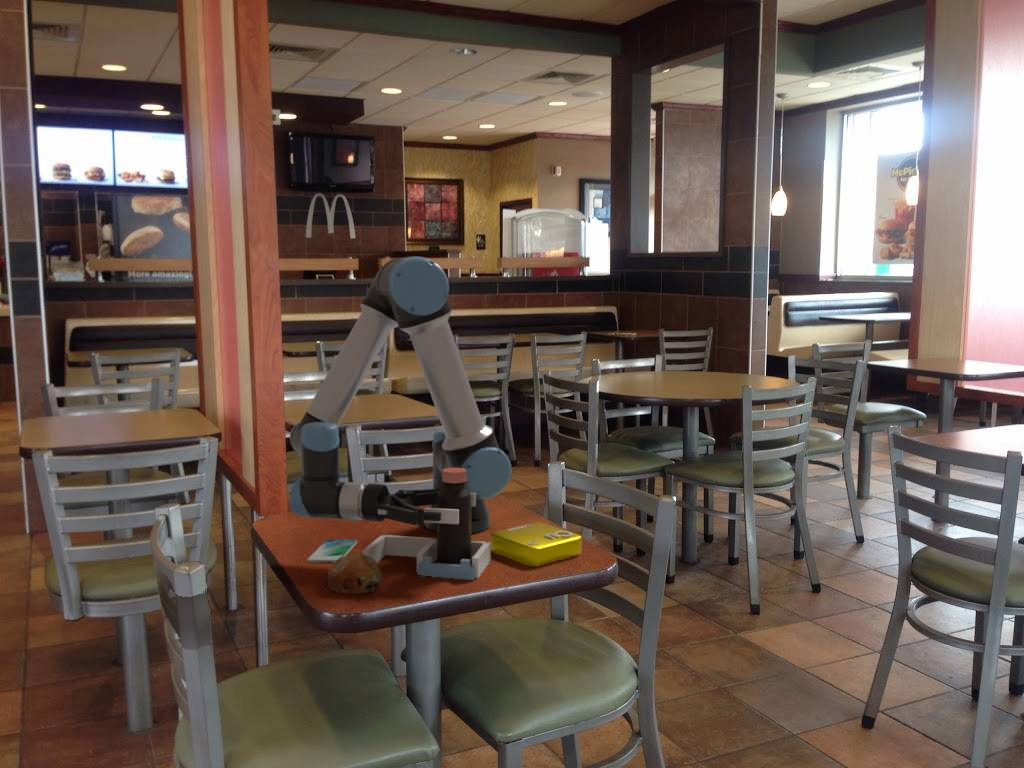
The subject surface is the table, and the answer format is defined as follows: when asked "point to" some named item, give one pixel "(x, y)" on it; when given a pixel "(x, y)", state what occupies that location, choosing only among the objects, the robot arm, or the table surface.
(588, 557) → the table surface
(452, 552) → the vinegar
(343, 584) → the bread roll
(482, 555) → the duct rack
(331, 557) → the smartphone
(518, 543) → the element tile
